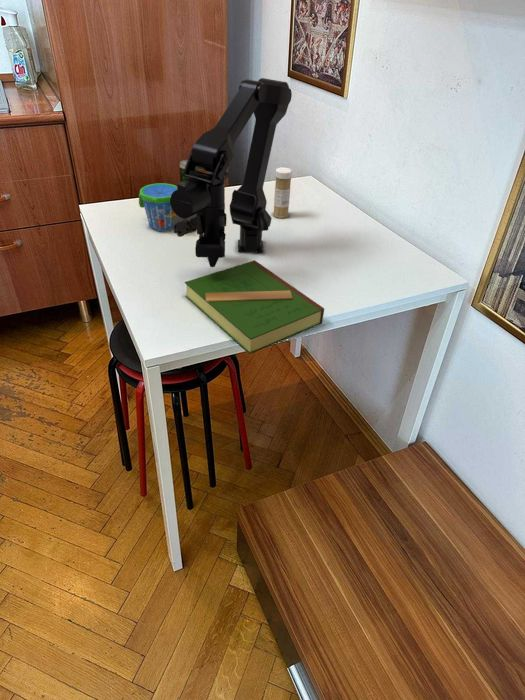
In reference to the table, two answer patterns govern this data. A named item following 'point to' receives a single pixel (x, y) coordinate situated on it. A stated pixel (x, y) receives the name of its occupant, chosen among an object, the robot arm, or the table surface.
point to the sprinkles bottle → (282, 192)
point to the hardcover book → (254, 306)
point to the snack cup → (158, 205)
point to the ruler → (248, 296)
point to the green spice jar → (182, 167)
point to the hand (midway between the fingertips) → (212, 266)
